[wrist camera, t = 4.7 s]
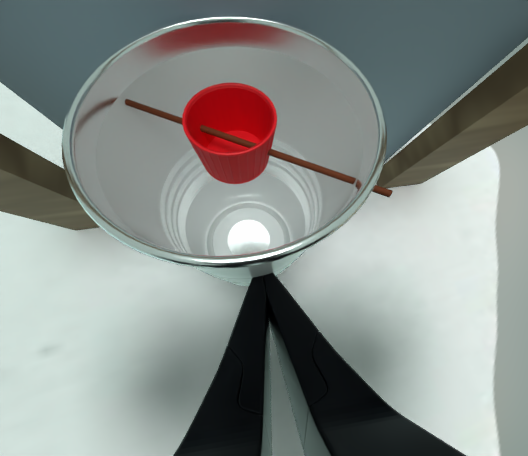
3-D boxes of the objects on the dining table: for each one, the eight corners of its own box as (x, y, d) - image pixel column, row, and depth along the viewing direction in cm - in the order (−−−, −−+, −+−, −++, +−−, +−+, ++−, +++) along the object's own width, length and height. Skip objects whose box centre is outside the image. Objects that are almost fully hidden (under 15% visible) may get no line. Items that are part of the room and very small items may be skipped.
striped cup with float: (164, 266, 16) (-50, 170, 5) (215, 176, 19) (153, -17, 8) (290, 321, 15) (380, 357, 4) (325, 216, 18) (438, 61, 7)
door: (375, 169, 19) (683, -98, 5) (122, 174, 18) (-301, -149, 4) (371, 144, 20) (643, -157, 6) (124, 148, 18) (-247, -218, 5)
